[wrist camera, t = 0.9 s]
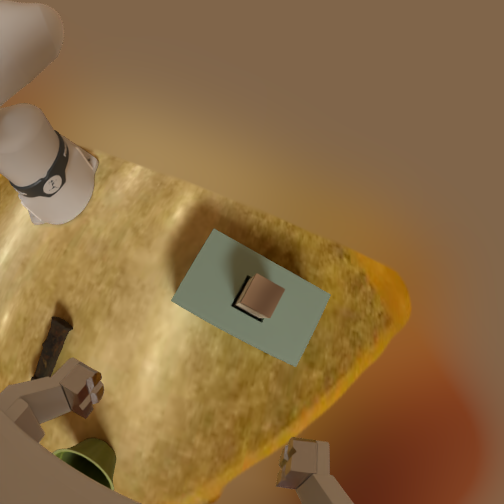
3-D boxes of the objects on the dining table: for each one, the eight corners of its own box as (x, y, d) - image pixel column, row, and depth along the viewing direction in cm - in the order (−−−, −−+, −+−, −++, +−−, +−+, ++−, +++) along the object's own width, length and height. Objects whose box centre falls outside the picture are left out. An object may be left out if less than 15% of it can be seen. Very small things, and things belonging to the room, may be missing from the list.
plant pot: (90, 478, 34) (72, 504, 23) (63, 430, 36) (37, 450, 25) (139, 473, 37) (127, 504, 26) (111, 423, 39) (90, 446, 28)
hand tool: (60, 314, 42) (48, 313, 37) (76, 327, 42) (64, 327, 37) (30, 390, 37) (18, 394, 32) (44, 403, 37) (32, 408, 32)
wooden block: (232, 305, 42) (240, 302, 33) (245, 283, 44) (256, 273, 34) (255, 318, 43) (270, 318, 33) (267, 295, 44) (285, 289, 34)
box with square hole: (177, 303, 46) (170, 300, 37) (212, 244, 49) (213, 228, 41) (279, 358, 47) (295, 367, 38) (309, 299, 50) (330, 294, 41)
